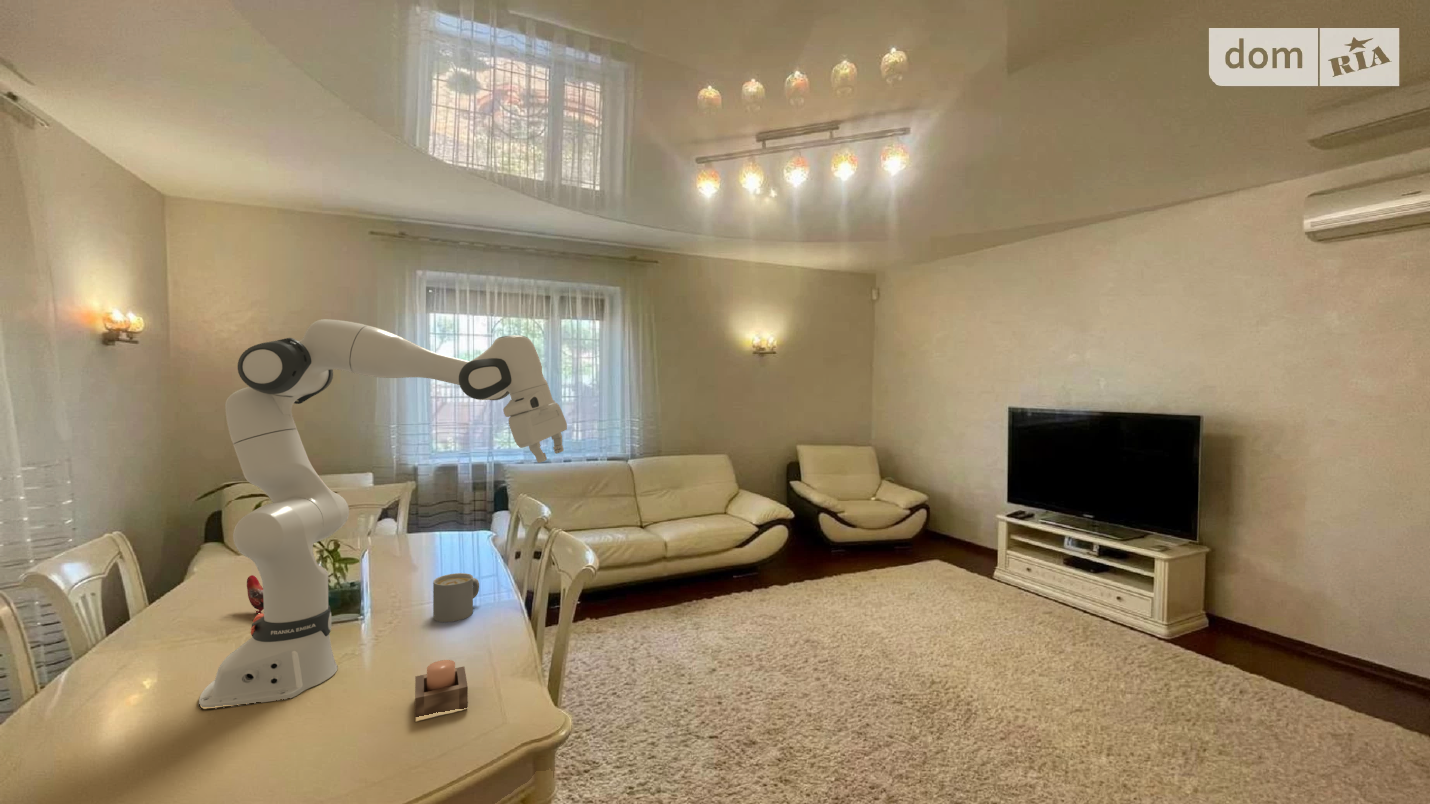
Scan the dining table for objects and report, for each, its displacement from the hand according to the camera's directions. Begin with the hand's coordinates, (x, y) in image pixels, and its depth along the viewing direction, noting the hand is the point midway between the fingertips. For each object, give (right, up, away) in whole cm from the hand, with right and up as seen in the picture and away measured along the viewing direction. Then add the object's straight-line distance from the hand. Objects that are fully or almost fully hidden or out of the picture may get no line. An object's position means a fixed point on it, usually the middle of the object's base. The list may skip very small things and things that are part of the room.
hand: (551, 456), depth 131 cm
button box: (-15, -47, -22) cm, 54 cm away
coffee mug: (-33, -46, +23) cm, 61 cm away
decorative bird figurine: (-85, -46, +20) cm, 99 cm away
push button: (-15, -43, -22) cm, 51 cm away
